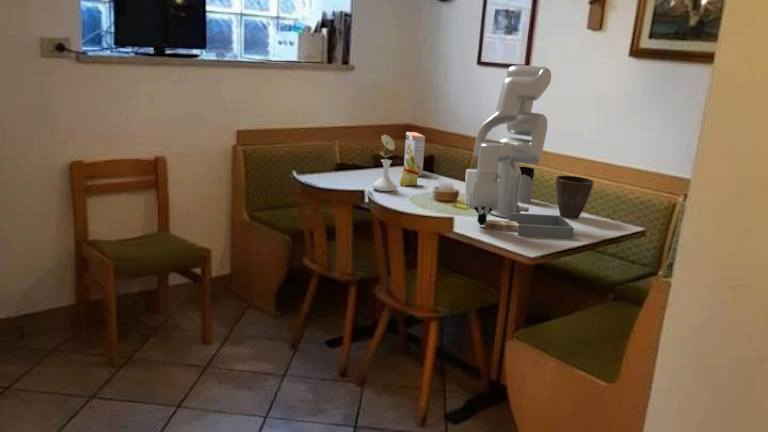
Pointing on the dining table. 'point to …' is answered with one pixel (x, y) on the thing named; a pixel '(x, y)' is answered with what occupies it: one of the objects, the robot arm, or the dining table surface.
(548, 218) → the frame
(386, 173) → the flower in vase
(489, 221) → the tile walnut
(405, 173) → the chocolate bunny
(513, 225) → the tile oak
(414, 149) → the cracker box
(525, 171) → the glass holder
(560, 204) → the plant pot
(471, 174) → the drinking glass
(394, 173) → the dining table surface
